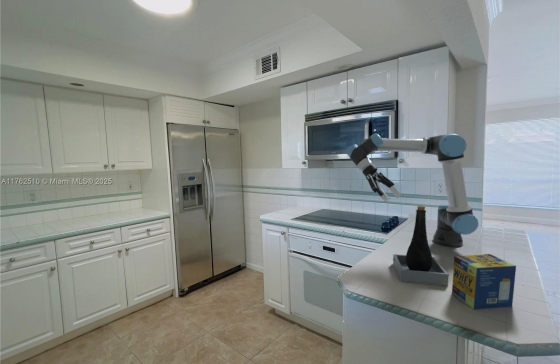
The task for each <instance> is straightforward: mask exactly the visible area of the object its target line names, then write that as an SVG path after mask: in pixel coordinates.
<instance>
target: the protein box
mask: <svg viewBox="0 0 560 364" xmlns="http://www.w3.org/2000/svg"><path fill="white" fill-rule="evenodd" d="M516 270H517V265H516V264H513V263H511V262H509V261H506V260H505V259H501V258H499V257H497V256H495V255H493V254H490V253H488V254H487V253H485V254H468V255H467V254H466V255H465V254H464V255H454V256H453V270H452V271H453V272H452V284H451V285H452V286H451V294H452V295H454V297H456V298H457V299H458V300H460V301H461V302H463V303H464V304H466V305H467V307H470V308H471V309H472V310H481V309H482V310H483V309H484V310H485V309H495V308H498V309H499V308H511V307H513V303H514V302H513V301H514V292H515V281H516V272H517V271H516Z"/></svg>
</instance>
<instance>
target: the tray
mask: <svg viewBox="0 0 560 364" xmlns="http://www.w3.org/2000/svg"><path fill="white" fill-rule="evenodd" d="M392 255H393V258H392V264H393V267H394V268H395V269H396V270H395V271H396V274H397V277H398V279H399V282H404V283H411V284H423V285H433V286H434V285H435V286H443V287H445V286H446V287H448V286H449V273H448V271H446V270H445V269H444V267H443V266H442V265H441V264H440V262H439V261H438V260H437V259H436V258H435V256H432V267H431V269H430V270H429V271H428V272H425V271H414V270H410V269H409V268H408V266H407V263H406V254H397V253H394V254H392Z"/></svg>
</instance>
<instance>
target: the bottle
mask: <svg viewBox="0 0 560 364" xmlns="http://www.w3.org/2000/svg"><path fill="white" fill-rule="evenodd" d="M416 207H417V209H416V210H415V222H414V228H413V234H412V238H411V240H410V244H409V246H408V248H407V251H406V253H405V255H406V263H407V266H408V268H409V269H410V270H414V271H425V272H428V271H429V270H430V269H431V267H432V257H433V256H432V252H431V249H430V245H429V241H428V234H427V224H426V223H427V221H426V219H427V217H426V215H427V214H426V212H427V210H426V206H422V205H421V206H420V205H418V206H416Z"/></svg>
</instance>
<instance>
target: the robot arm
mask: <svg viewBox="0 0 560 364" xmlns="http://www.w3.org/2000/svg"><path fill="white" fill-rule="evenodd" d="M466 149H467V142H466V139H465V138H464V137H463V136H461V135H459V134H457V133H447V134H442V135H441V134H440V135H435V136H430V137H429V136H428V137H427V136H426V137H425V136H424V137H422V138H382V137H381V136H380V135H379V134H378V133H374V134H372V135H370V136H369V137H368V138H364V139H363V140H361V143H360V144H359V145H358V144H352V145H350V146H349V147H348V148H347V150H346V154H347V156H348V157H349V159H350V160H351V161H352V163H353V164H354V165H355V167H357V168H358V170H359V171H360V172H362V174H363V175H364V177H365V179H366V180H367V182H368V184H369V187H370V188H371V190H372V192H374V193H375V194H376V193H377V194H378V196H380V198H381V199H382V200H383V201H384V203H386V202H387V201H389V200H390V197H389V196H388V195H387V194H386V192H385V191H384V190H383V188H380V185H379V183H381V184H382V185H384V186H385V187H387V188H388V189H389V191H390V192H391V193H392V194H393V195H394V196H395V197H396V199H398V198H400V197H401V196H402V194H401V193H400V191H398V190H397V188H396V187H395V183H394V182H393V181H392V180H390V179H389V178H388V177H387V176H386V175H384V174H383V173H382V172H379V173H378V167H377V166H376V165H375V164H374V163H373V161H372V160H371V159H370V158H369V157H368V156H369V155H370V154H372V153H373V152H404V153H405V152H406V153H421V154H424V155H433V156H437V161H438V162H439V163H440V164H441V167H442V171H443V177H444V179H443V180H444V183H445V191H446V197H447V201H448V202H447V203H448V204H439V205H437V206H438V207H437V219H436V220H437V222H436V224H437V226H436V230H435V232H434V234H433V239H432V241H433V243H436V244H437V245H441V246H447V247H453V248H454V247H462V246H464V240H463V237H462V235H463V236H465V235H471V234H472V233H475V232H476V230H477V229H478V228H479V220H478V218H477V217H476V216H475V215H474V213H473V207H472V206H471V205H469V203H468V197H467V190H466V185H465V184H466V183H465V178H464V171H463V166H462V165H463V164H462V160H463V159H464V158H465V155H464V154H465V151H466Z"/></svg>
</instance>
